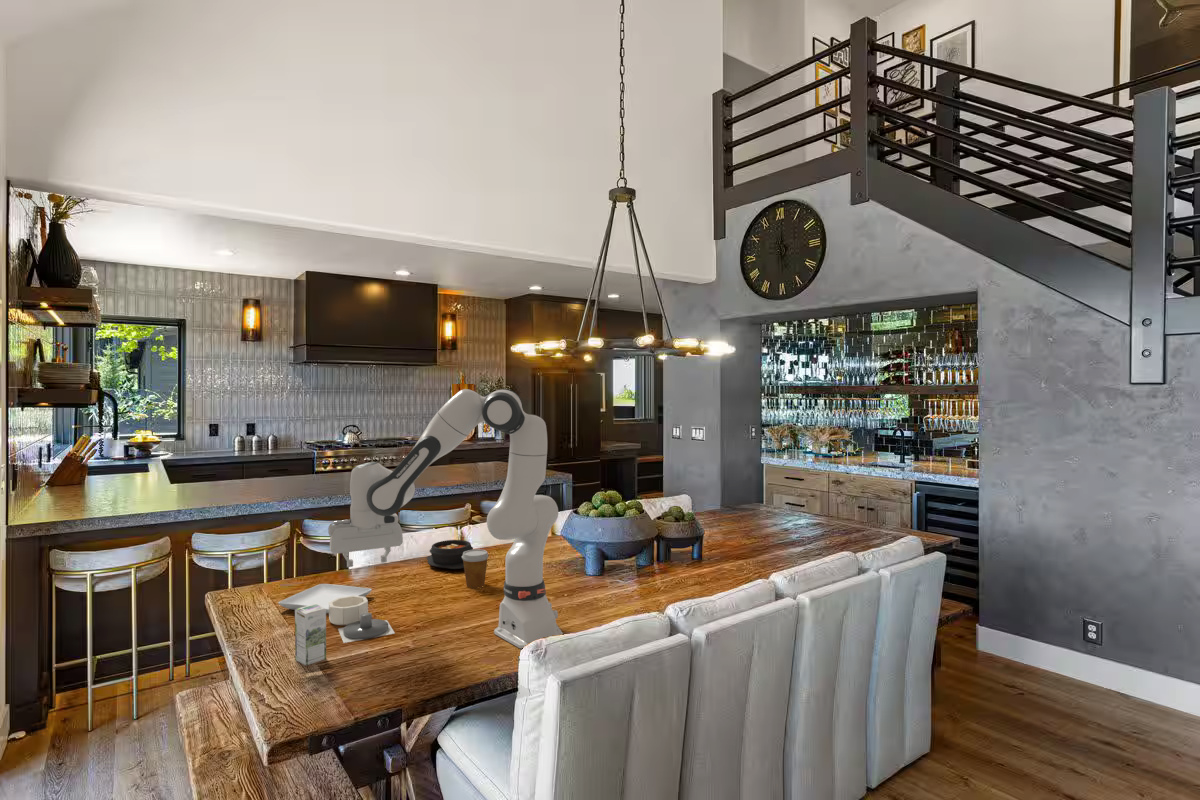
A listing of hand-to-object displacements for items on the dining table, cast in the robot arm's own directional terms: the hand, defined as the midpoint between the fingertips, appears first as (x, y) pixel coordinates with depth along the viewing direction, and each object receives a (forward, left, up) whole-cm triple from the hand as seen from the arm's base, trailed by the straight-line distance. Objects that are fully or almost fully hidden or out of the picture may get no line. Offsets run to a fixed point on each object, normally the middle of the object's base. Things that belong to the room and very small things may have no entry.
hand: (367, 564), depth 194 cm
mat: (-1, +1, -20) cm, 20 cm away
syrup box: (-14, +17, -20) cm, 30 cm away
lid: (-1, +1, -19) cm, 19 cm away
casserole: (+56, -41, -20) cm, 72 cm away
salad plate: (+32, +8, -21) cm, 39 cm away
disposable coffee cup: (+26, -41, -20) cm, 53 cm away
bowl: (+12, +4, -20) cm, 24 cm away
